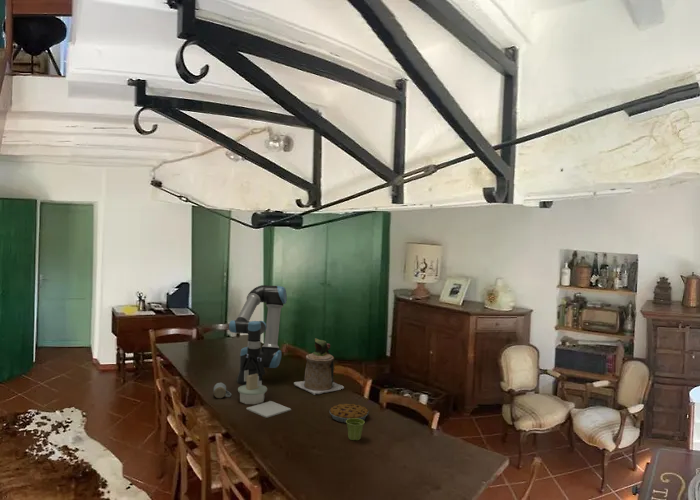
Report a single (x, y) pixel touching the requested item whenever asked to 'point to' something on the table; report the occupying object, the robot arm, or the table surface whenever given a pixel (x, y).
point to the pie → (348, 412)
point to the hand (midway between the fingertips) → (252, 383)
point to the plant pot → (354, 428)
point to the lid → (252, 386)
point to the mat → (268, 409)
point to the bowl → (252, 398)
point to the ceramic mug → (221, 391)
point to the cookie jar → (319, 371)
